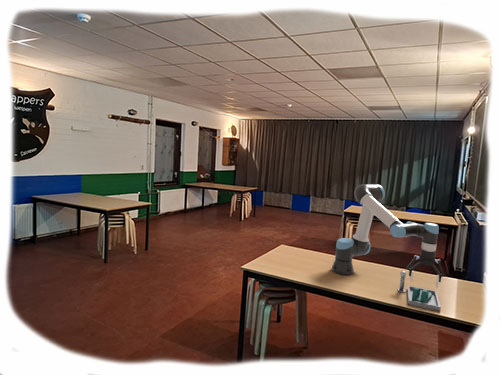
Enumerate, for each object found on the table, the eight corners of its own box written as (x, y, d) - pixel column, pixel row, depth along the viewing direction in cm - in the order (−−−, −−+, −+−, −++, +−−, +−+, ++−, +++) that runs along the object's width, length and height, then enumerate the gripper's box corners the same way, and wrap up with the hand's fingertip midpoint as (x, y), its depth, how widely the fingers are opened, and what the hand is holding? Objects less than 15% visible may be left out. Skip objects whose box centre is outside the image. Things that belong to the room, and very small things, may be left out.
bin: (408, 304, 187) (408, 300, 187) (407, 289, 209) (407, 285, 209) (440, 311, 181) (440, 307, 181) (435, 294, 203) (436, 291, 202)
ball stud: (397, 291, 205) (399, 271, 204) (397, 289, 209) (399, 269, 207) (404, 292, 203) (407, 273, 202) (404, 290, 207) (406, 270, 206)
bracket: (424, 305, 186) (425, 292, 185) (411, 301, 190) (413, 288, 189) (432, 296, 199) (434, 284, 198) (420, 292, 203) (422, 280, 203)
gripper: (452, 251, 190) (446, 286, 193) (404, 244, 200) (400, 277, 203) (454, 255, 183) (448, 291, 186) (405, 247, 193) (400, 281, 196)
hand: (423, 284), depth 194 cm, fingers open, 13 cm apart
